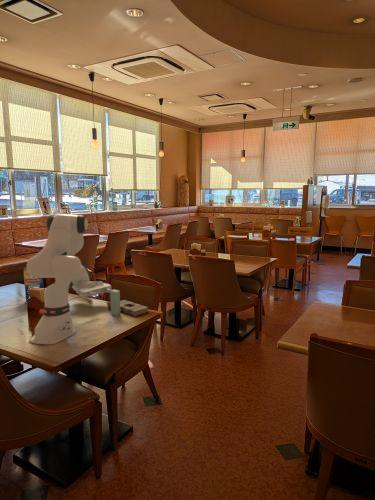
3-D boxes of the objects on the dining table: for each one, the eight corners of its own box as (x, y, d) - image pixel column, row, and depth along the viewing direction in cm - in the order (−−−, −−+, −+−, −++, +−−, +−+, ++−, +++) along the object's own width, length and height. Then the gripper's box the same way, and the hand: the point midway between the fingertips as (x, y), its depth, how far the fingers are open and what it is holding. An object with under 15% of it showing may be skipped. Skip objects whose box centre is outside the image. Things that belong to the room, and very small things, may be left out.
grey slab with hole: (148, 312, 211) (148, 307, 211) (134, 316, 204) (134, 311, 203) (124, 304, 226) (124, 299, 225) (111, 308, 219) (111, 303, 218)
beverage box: (44, 301, 233) (42, 268, 230) (25, 303, 229) (23, 269, 226) (44, 298, 239) (41, 266, 236) (26, 300, 235) (23, 267, 232)
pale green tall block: (120, 314, 207) (119, 290, 205) (116, 315, 205) (115, 292, 203) (115, 312, 210) (114, 289, 208) (110, 314, 208) (110, 290, 206)
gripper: (74, 287, 216) (87, 291, 206) (103, 280, 230) (116, 284, 221) (75, 297, 217) (87, 302, 207) (103, 290, 232) (116, 294, 222)
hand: (102, 292), depth 214 cm, fingers open, 8 cm apart
